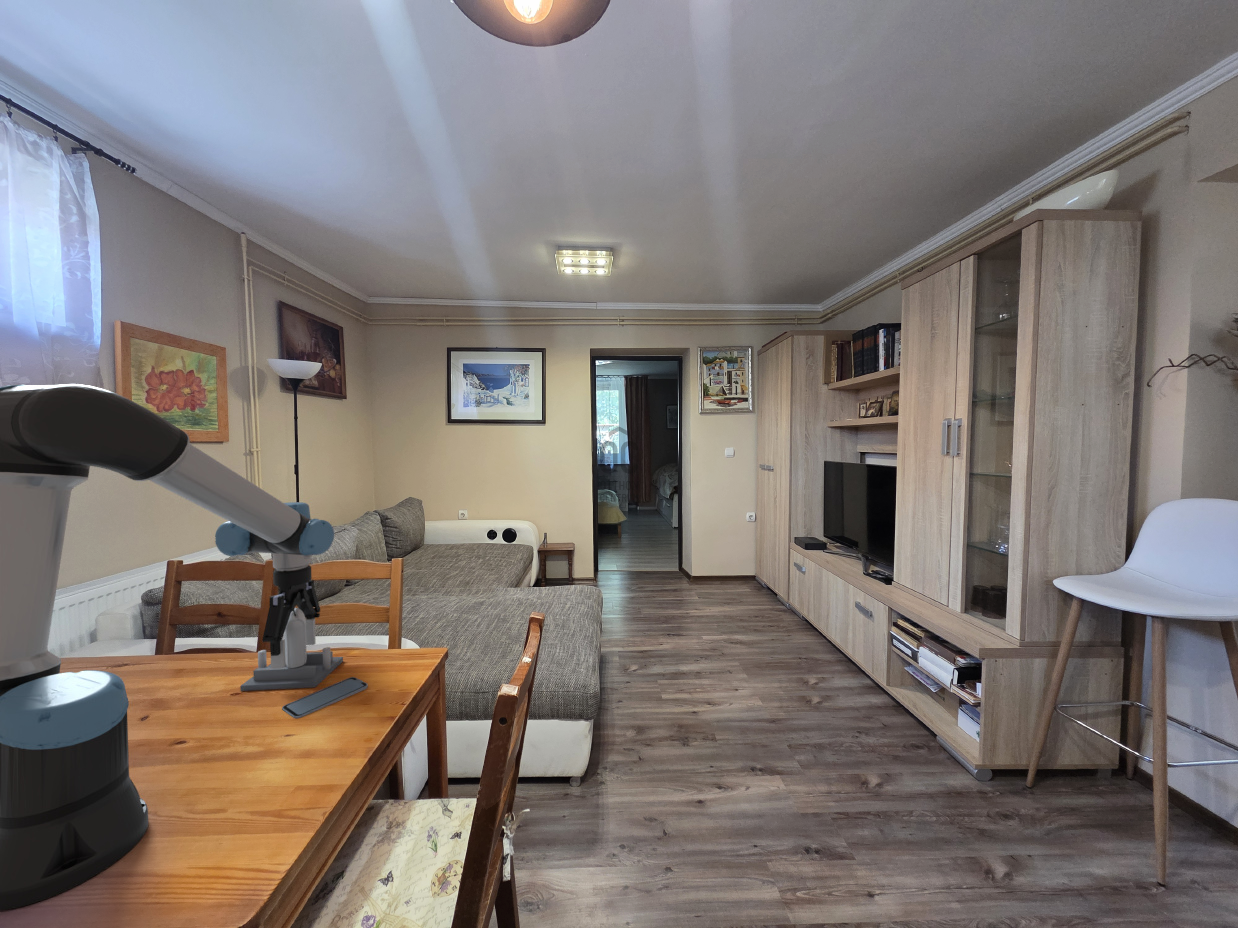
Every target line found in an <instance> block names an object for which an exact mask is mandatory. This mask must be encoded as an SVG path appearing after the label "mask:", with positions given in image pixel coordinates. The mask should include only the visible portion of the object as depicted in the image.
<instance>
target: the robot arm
mask: <svg viewBox="0 0 1238 928" xmlns="http://www.w3.org/2000/svg"><path fill="white" fill-rule="evenodd" d="M190 441H191V440H190V436H189V434H188V433H187V432H185V431H183V430H182V429H180V428H179V427H177V426H176V425H174V423H173V424H172V423H171V422H170V421H168V420H167V419H165V418H163V417H162V416H160V415H158V414H157V413H155V412H154V411H151V410H150V409H148V408H146V407H144V406H143V405H140V404H138V403H137V402H135V401H133V400H132V399H129V398H127V397H125V396H123V395H120V394H118V393H116V392H113V391H111V390H107V389H105V388H100V387H98V386H97V387H96V386H92V385H85V384H79V383H77V384H76V383H67V384H65V383H64V384H45V385H43V384H42V385H41V384H40V385H39V384H38V385H37V384H35V385H34V384H32V385H31V384H30V385H26V384H10V385H4V386H0V911H5V910H14V909H17V908H21V907H25V906H28V905H32V904H35V903H37V902H38V903H39V902H40V901H44V900H46V899H49V898H52V897H54V896H57V895H59V894H62V893H64V892H66V891H68V890H70V889H72V888H74V887H77V886H78V885H80V884H82V883H84V882H86V881H88V880H89V879H91V878H93V877H95V876H97V875H98V874H100V873H102V872H103V871H105V870H106V869H108V868H109V867H110V866H112V865H113V864H115V863H116V862H118V861H120V859H121V858H123V857H124V856H126V855H127V854H128V853H129V852H130V851H132V849H133V848H134V847H135V846H137V844H138V843H139V842H140V841H141V839H142V838H143V837H144V836H145V834H146V833H147V829H148V827H149V808H148V805H147V803H146V801H145V800H144V799H143V798H141V796H140V794H139V791H138V789H137V787H136V785H135V784H134V782H133V781H132V779H131V777H130V765H129V728H128V726H129V725H128V710H129V709H128V708H129V697H128V696H127V690H126V685H125V682H124V680H123V679H122V678H121V676H119V675H117V674H116V673H113V672H109V671H105V670H96V669H94V670H93V669H92V670H91V669H90V670H89V669H88V670H87V669H86V670H85V669H84V670H81V671H78V672H74V671H67V672H61V665H62V658H61V657H59V656H57V655H55V654H54V653H52V652H50V651H49V648H48V646H49V642H50V641H49V640H50V634H51V626H52V622H53V621H52V620H53V614H54V607H55V600H56V593H57V588H58V581H59V575H60V567H61V561H62V556H63V555H62V553H63V548H64V547H63V546H64V540H65V536H66V535H65V534H66V528H67V521H68V514H69V507H70V502H71V495H72V491H73V490H74V489H75V488H76V487H77V486H79V485H81V484H83V483H84V482H86V481H88V479H89V475H90V467H94V468H101V469H105V470H109V471H111V472H115V473H118V474H120V475H122V476H124V477H126V478H128V479H130V480H132V481H135V482H145V481H150V482H152V483H154V484H156V485H158V486H159V487H162V488H164V489H166V490H167V491H170V492H171V493H173V494H175V495H178V496H180V497H181V498H184V499H185V500H186V501H189V502H191V503H193V504H195V505H196V506H198V507H201V508H202V509H204V510H206V511H208V512H210V513H212V514H214V515H216V516H218V517H221V518H222V519H224V520H226V522H223V523H221V524H220V525H219V526H218V527H217V529H216V531H215V535H214V536H215V538H214V539H215V540H214V542H215V546H216V548H217V549H218V551H219V552H220V553H221V554H223V555H225V556H228V557H235V556H244V555H246V554H250V553H261V554H272V568H274V570H273V571H272V573H273V574H272V575H273V578H272V579H273V585H274V586H275V587H278V588H279V592H278V594H277V595H270V597H269V606H268V613H267V616H266V622H265V626H264V631H263V635H262V636H263V637H262V640H261V641H262V642H263V643H266V642H267V643H269V644H270V645H269V646H270V647H269V649H270V650H269V651H270V664H271V669H276V668H285V667H286V657H285V639H283V635H284V632H285V629H286V626H287V623H288V620H289V617H290V614H291V612H292V611H293V610H294V609H295V608H296V606H297V608H299V609H300V610H301V611H302V612H303V613H304V616H305V619H306V646H314V645H316V619H318V618H320V616H321V614H320V612H321V606H320V603H319V599H318V597H317V593H316V589H315V580H314V579H312V566H311V565H310V564H311V563H312V556H318V555H322V554H324V553H326V552H327V551H328V550H329V549H330V548H331V546H332V545H333V542H334V541H335V540H334V539H335V531H334V528H333V525H332V524H331V523H330V522H329V521H327V520H325V519H319V518H313V519H312V517H311V510H310V506H309V504H308V503H306V502H299V501H298V502H297V501H294V502H293V501H292V502H291V501H290V502H283V501H281V500H279V499H278V498H277V497H274V495H272V494H270V493H268V492H267V491H265V490H264V489H262V488H260V487H259V486H258V485H256V484H254V483H253V482H251V481H249V480H248V479H246V478H245V477H243V476H242V475H240V474H238V473H237V472H235V471H233V469H231V468H229V467H228V466H226V465H225V464H223V463H221V462H219V461H218V460H217V459H215V458H214V457H212V456H210V455H208V454H207V453H205V452H204V451H202V450H200V449H199V448H197V447H196V446H194V445H193V444H191V442H190ZM60 672H61V673H60Z"/></svg>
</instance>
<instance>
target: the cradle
mask: <svg viewBox="0 0 1238 928" xmlns="http://www.w3.org/2000/svg"><path fill="white" fill-rule="evenodd" d="M306 654H307V660H306V663H305V664H304V665H302V666H300V667H296V668H290V667H289V668H288V667H287V665H286V667H285V668H276V669H271V663H270V664H269V665H268V664H267V649H262V650H258V652H257V668H255V669H254V670H253V672H252V674H253V675H252V677H250V678H249V679H248V680H246V681H245V682H244V683H242V684H241V685H240V687H239V688H240V690H239V691H240V692H243V691H244V692H245V691H247V692H249V691H265V690H284V689H287V690H288V689H303V688H304V689H305V688H317V687H318V685H320V684H321V682H323V681H324V680H325V679H326V678H327V677H328V676H329V675H330V674H332V672H333V671H334V670H336V669H337V668H338V667H339V666H340V665H341V664H342V663H343V662H344V657H343V656H334V655H333V651H332V650H331V647H329V646H327V647H323V648H322V651H312V652H311V651H309V652H307V651H306Z"/></svg>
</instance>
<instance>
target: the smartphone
mask: <svg viewBox="0 0 1238 928" xmlns="http://www.w3.org/2000/svg"><path fill="white" fill-rule="evenodd" d="M367 689H368V683H367V682H365V681H363V680H362V679H359V678H357V677H355V676H351V677H347V678H345V679H342V680H341V681H338V682H335V683H334V684H332V685H329V686H327V687H325V688H321V689H319V690H317V691H315V692H313V693H310V694H308V695H305V696H303V697H300V698H298V699H296V700H294V701H292V702H289V703H287V704H285V705H283V706H282V708H281V710H282V711H284V712H285V713H286V714H287V715H289V716H290V717H292V718H293V719H300V718H303V717H305V716H307V715H310V714H312V713H314V712H317V711H318V710H321V709H324V708H326V707H328V706H330V705H333V704H335V703H337V702H339V701H341V700H343V699H346V698H349V697H350V696H353V695H355V694H358V693H360V692H362V691H365V690H367Z"/></svg>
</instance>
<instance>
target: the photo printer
mask: <svg viewBox="0 0 1238 928" xmlns="http://www.w3.org/2000/svg"><path fill="white" fill-rule="evenodd" d="M282 639H285V657H286V665H287V667H288V668H289V667H290V668H296V667H300V666H302V665H304V664H305V663H306V660H307V654H306V652H307V645H306V618H305V616H304V613H303V612H302V611H301V610H300V609H299V608H298V607H295V609H294V610H293V611H292V612H291V614H290V617H289V620H288V623H287V626H286V629H285V632H284V635H283V638H282Z"/></svg>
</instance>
